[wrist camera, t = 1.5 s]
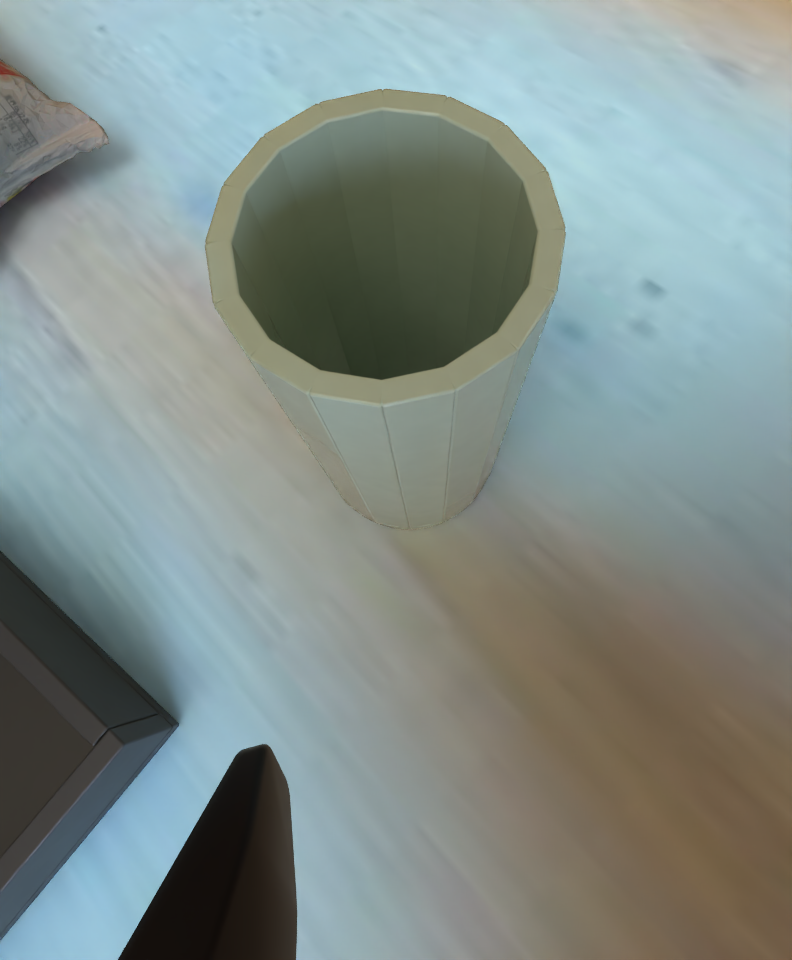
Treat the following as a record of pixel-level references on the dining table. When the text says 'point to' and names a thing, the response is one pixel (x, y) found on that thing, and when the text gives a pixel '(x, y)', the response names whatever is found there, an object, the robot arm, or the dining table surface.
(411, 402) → the tumbler
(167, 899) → the robot arm
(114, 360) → the dining table surface
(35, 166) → the packaged food
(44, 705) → the tub
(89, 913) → the dining table surface
